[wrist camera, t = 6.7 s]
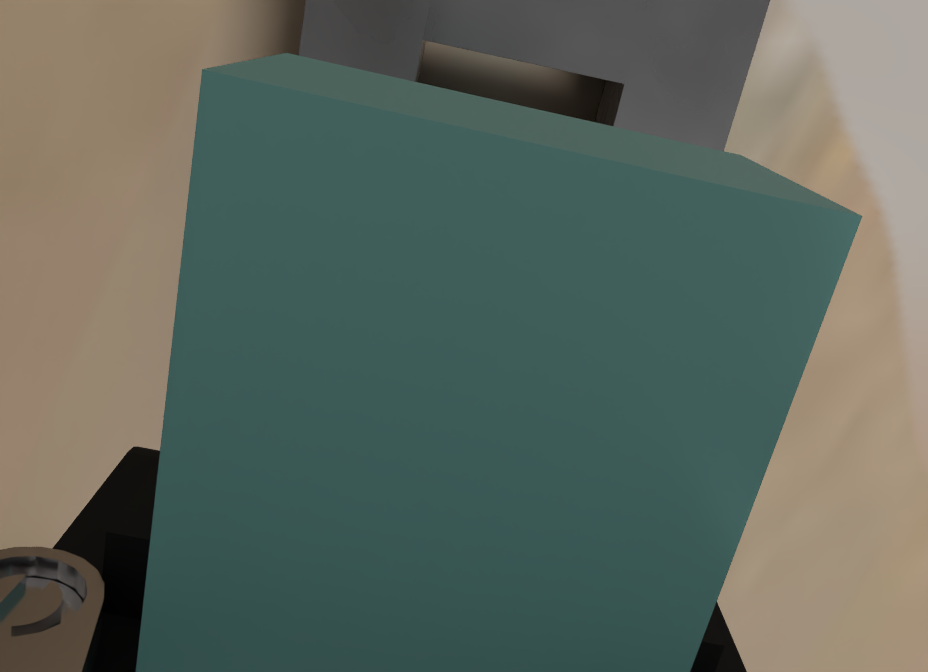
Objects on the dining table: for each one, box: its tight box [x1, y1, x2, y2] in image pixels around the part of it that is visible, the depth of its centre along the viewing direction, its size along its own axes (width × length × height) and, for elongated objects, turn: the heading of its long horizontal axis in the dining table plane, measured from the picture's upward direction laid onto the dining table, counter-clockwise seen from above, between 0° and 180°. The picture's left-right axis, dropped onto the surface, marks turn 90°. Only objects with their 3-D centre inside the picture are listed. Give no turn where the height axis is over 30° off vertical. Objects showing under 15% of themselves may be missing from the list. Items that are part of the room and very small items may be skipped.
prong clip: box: [136, 53, 862, 672], centre depth 10 cm, size 4×11×6 cm, turn 168°
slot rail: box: [298, 0, 770, 151], centre depth 27 cm, size 12×20×3 cm, turn 168°
